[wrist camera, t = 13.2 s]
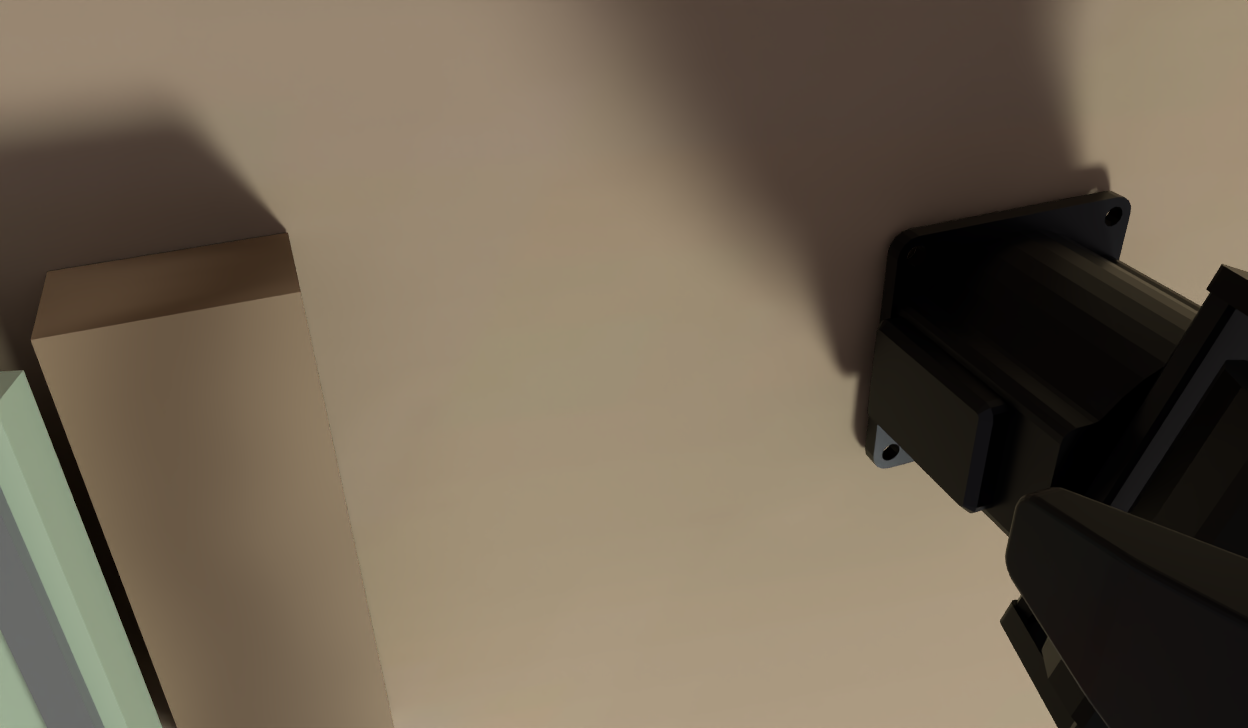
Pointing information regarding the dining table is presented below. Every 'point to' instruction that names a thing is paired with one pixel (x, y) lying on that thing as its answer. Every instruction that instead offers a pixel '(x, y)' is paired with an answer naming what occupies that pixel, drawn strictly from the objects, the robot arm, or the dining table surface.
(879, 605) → the dining table surface
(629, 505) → the dining table surface
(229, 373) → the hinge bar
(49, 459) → the trapdoor
